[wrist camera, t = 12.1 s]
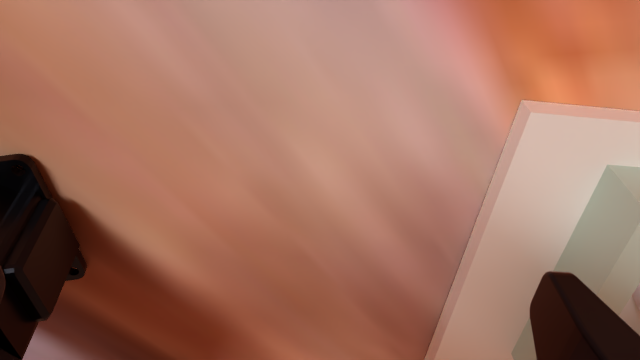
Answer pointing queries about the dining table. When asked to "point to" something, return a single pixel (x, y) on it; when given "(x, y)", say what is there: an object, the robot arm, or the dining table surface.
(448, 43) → the dining table surface
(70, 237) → the robot arm
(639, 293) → the smoothie
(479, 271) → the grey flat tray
